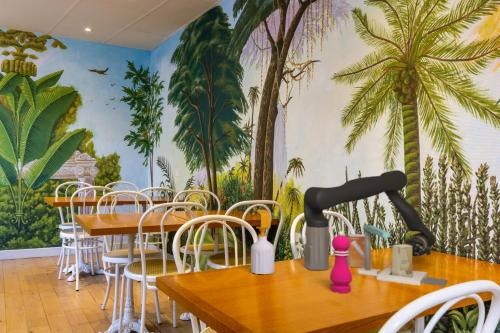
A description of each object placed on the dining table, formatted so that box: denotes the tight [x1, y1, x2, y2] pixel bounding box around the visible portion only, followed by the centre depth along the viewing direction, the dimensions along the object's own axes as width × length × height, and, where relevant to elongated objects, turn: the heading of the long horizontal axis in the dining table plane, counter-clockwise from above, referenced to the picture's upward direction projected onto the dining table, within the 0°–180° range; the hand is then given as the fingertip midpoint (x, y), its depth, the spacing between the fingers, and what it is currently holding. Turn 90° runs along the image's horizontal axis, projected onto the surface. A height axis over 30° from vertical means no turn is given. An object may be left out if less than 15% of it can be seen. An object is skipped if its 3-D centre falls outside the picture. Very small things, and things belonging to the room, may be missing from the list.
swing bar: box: [362, 223, 390, 239], centre depth 158 cm, size 21×3×2 cm, turn 3°
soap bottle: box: [250, 209, 275, 275], centre depth 168 cm, size 9×9×25 cm
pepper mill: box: [329, 230, 353, 294], centre depth 143 cm, size 7×7×20 cm
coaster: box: [422, 276, 448, 287], centre depth 154 cm, size 7×7×1 cm
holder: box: [357, 230, 428, 286], centre depth 162 cm, size 24×15×17 cm, turn 58°
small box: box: [347, 233, 365, 268], centre depth 179 cm, size 8×6×13 cm
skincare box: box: [391, 243, 413, 278], centre depth 160 cm, size 6×4×12 cm
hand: (408, 252), depth 169 cm, fingers open, 8 cm apart
